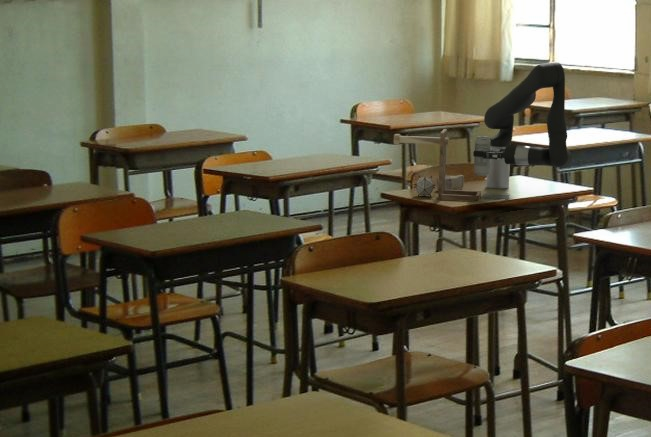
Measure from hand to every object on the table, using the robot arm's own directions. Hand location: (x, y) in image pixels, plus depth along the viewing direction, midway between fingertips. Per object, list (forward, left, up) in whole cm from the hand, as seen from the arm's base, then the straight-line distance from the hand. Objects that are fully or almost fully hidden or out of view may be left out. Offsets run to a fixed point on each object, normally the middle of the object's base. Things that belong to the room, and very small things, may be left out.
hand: (476, 152), depth 475 cm
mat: (-3, +8, -18) cm, 20 cm away
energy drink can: (+1, +2, -9) cm, 9 cm away
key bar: (+3, -21, +3) cm, 22 cm away
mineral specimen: (-15, -12, -18) cm, 26 cm away
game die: (+3, -19, -18) cm, 26 cm away
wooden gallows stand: (+3, -5, -18) cm, 19 cm away
